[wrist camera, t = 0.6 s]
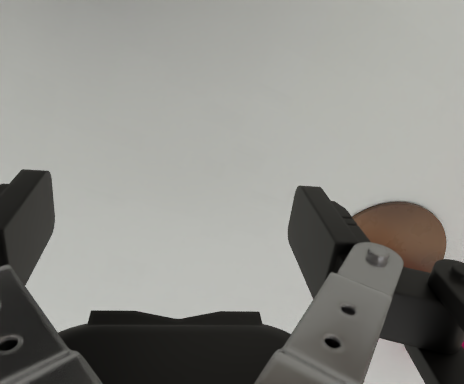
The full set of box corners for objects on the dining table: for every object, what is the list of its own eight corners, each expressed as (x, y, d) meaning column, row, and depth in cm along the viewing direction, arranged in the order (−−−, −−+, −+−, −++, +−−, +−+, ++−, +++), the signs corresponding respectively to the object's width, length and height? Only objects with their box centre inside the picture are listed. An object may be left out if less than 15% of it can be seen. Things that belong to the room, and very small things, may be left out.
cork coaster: (333, 201, 35) (334, 204, 35) (460, 201, 36) (463, 203, 36) (312, 308, 40) (314, 311, 40) (424, 303, 42) (426, 306, 41)
